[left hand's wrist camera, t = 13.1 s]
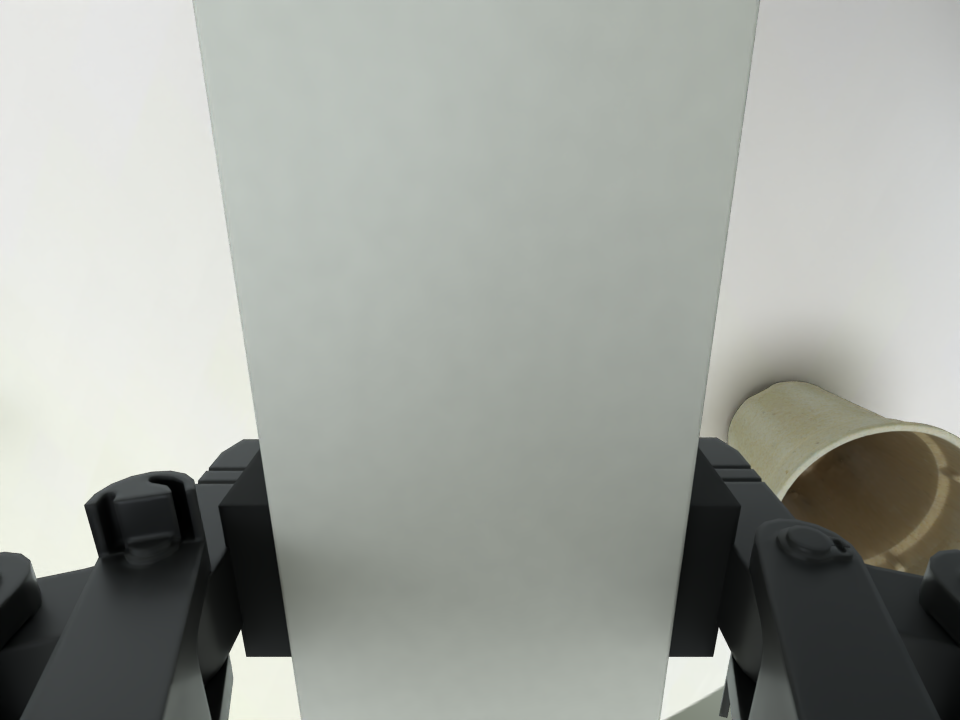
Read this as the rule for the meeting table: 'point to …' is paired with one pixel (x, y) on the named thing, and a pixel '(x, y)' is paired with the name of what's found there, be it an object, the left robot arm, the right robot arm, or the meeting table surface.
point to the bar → (478, 332)
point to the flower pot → (855, 472)
